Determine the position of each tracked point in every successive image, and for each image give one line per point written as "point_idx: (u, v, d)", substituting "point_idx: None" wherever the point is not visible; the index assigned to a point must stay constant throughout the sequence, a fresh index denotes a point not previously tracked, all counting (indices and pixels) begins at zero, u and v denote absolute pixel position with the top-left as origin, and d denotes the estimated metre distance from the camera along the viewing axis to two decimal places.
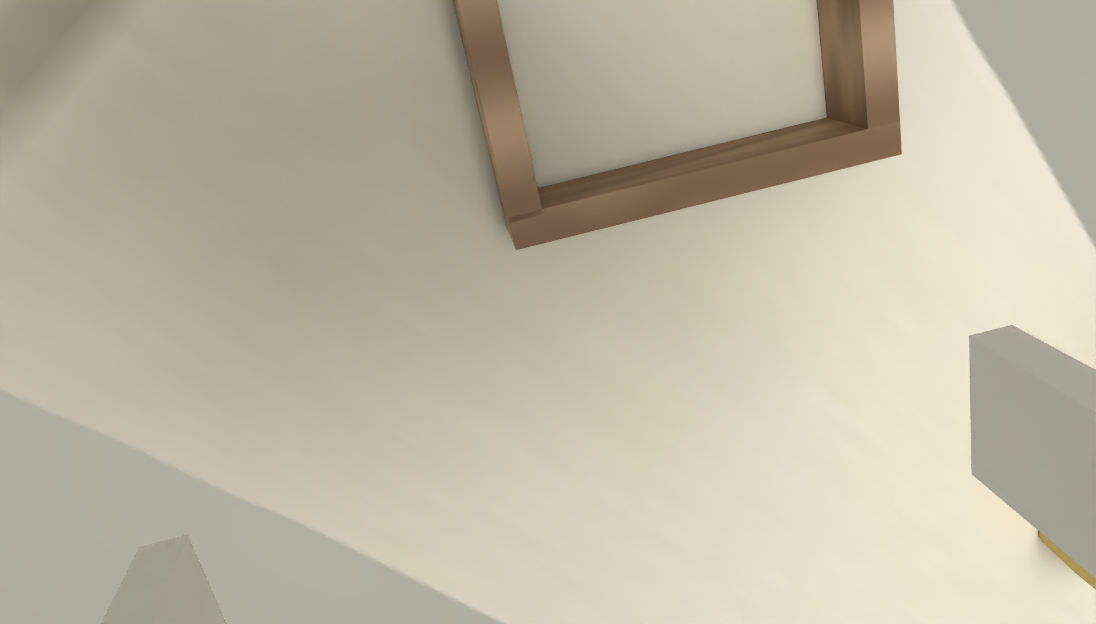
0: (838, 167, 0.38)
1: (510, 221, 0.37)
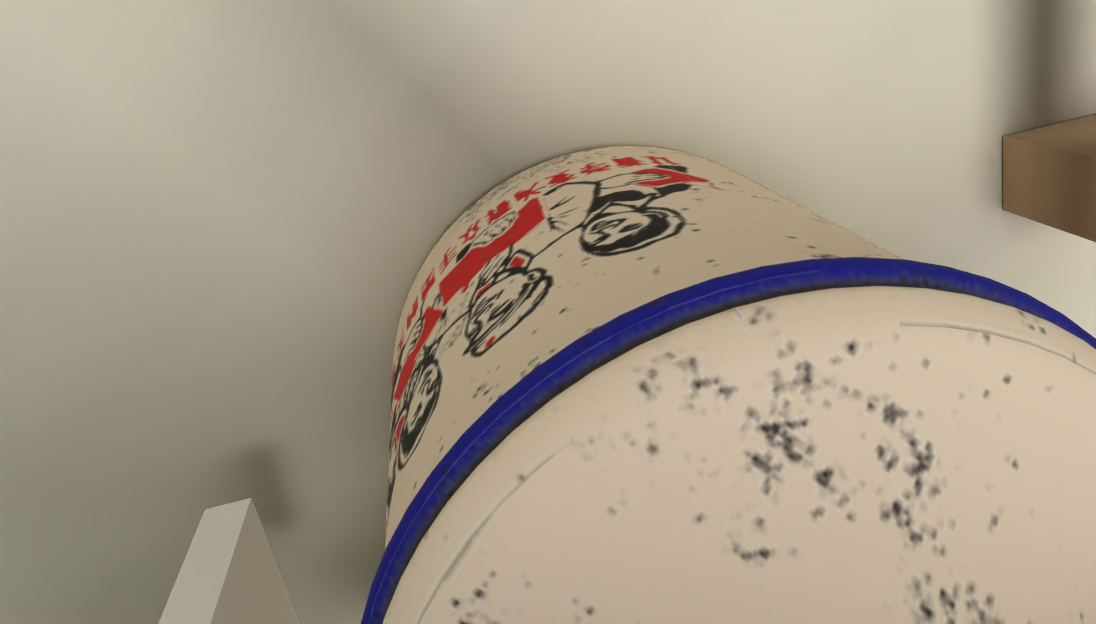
0: None
1: None
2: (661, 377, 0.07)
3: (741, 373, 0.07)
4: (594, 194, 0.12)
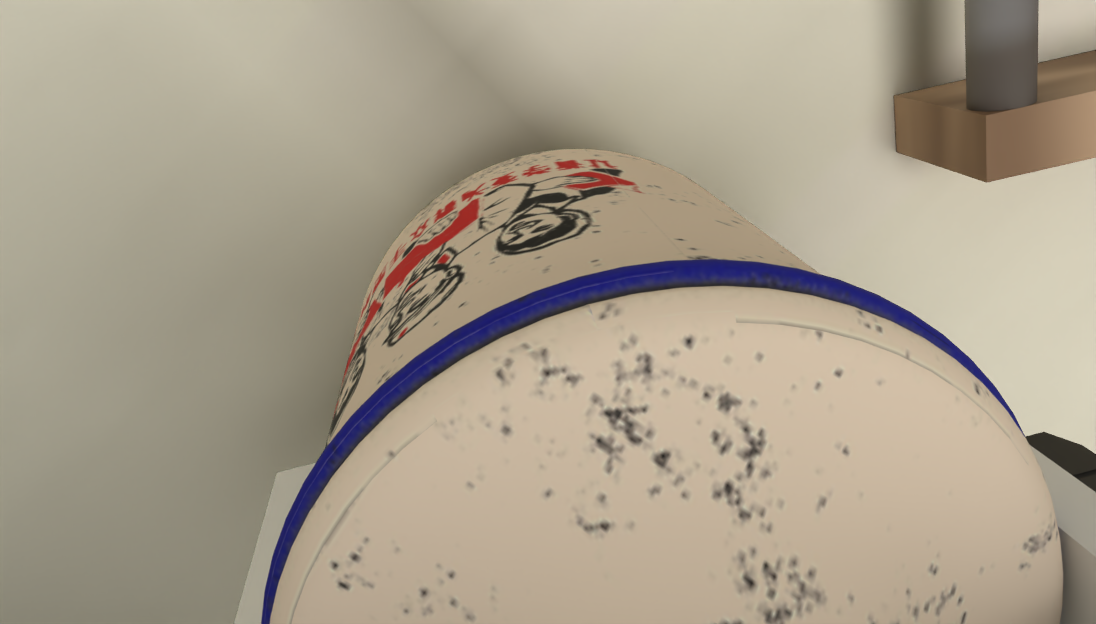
0: None
1: None
2: (515, 366, 0.08)
3: (587, 363, 0.08)
4: (525, 196, 0.13)
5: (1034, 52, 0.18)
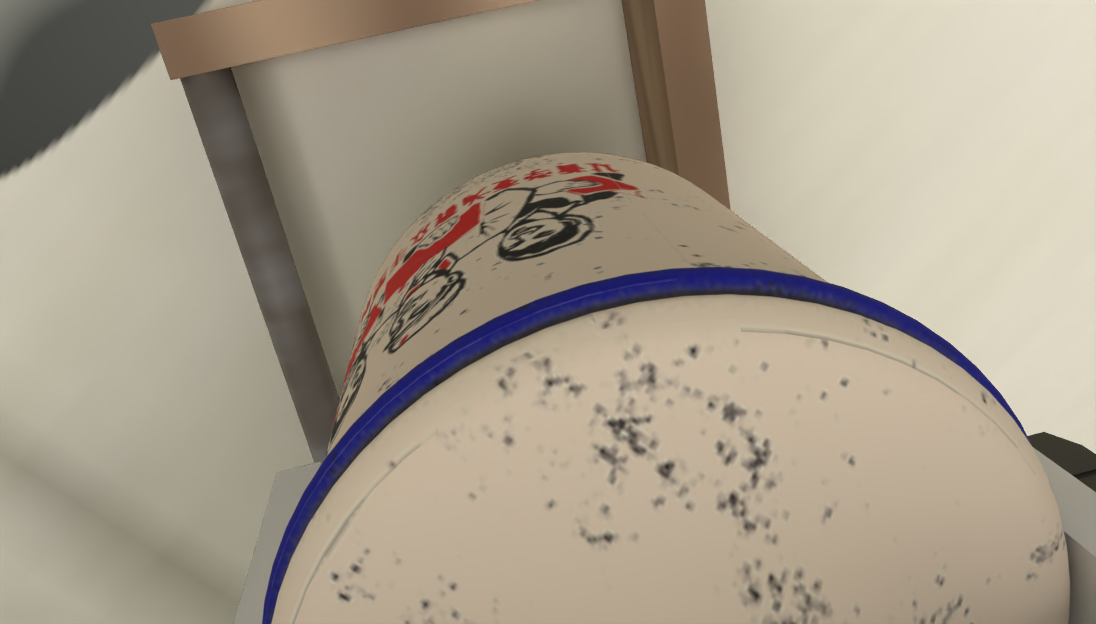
0: (703, 20, 0.25)
1: None
2: (518, 375, 0.07)
3: (590, 373, 0.07)
4: (527, 200, 0.13)
5: None
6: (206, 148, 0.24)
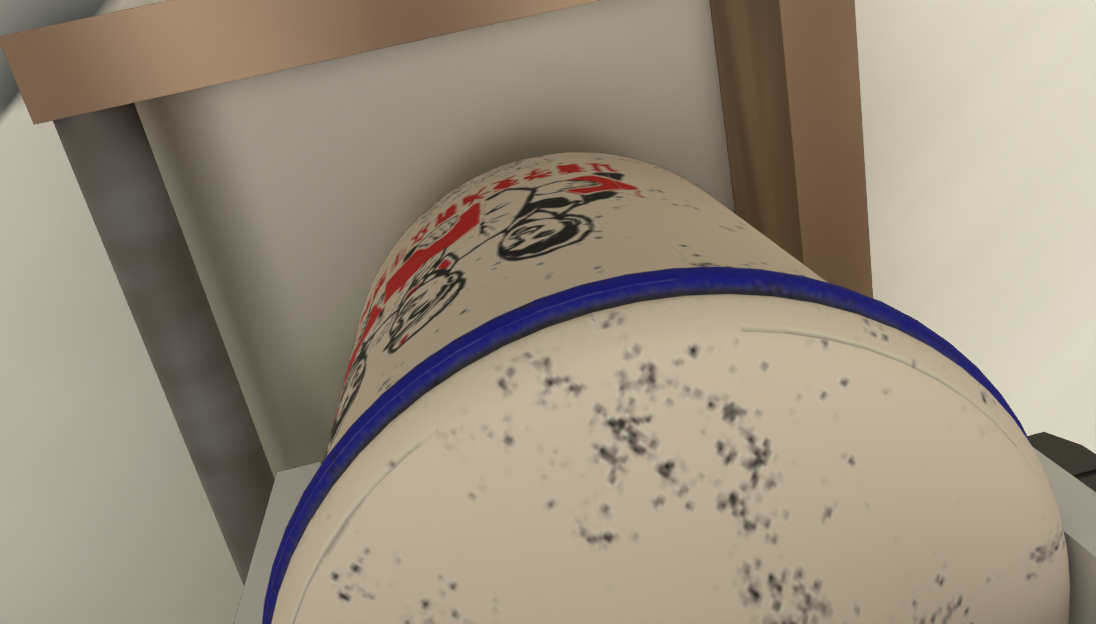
0: (850, 29, 0.17)
1: None
2: (518, 375, 0.07)
3: (590, 372, 0.07)
4: (527, 200, 0.13)
5: None
6: (97, 226, 0.16)
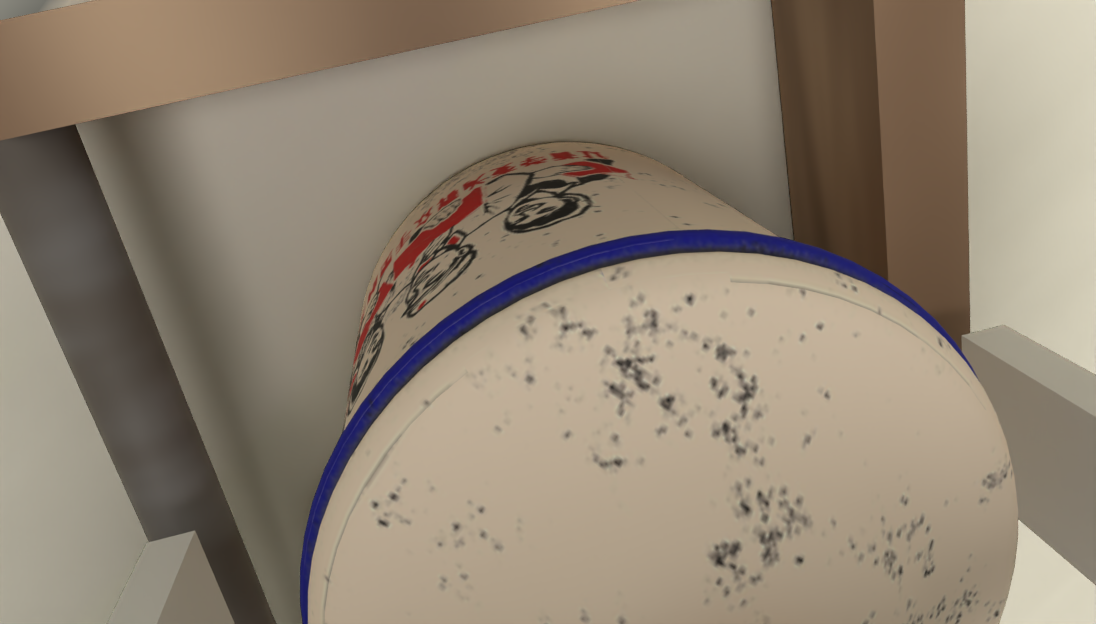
0: (958, 33, 0.13)
1: None
2: (537, 322, 0.09)
3: (600, 319, 0.09)
4: (526, 183, 0.14)
5: None
6: (29, 276, 0.13)
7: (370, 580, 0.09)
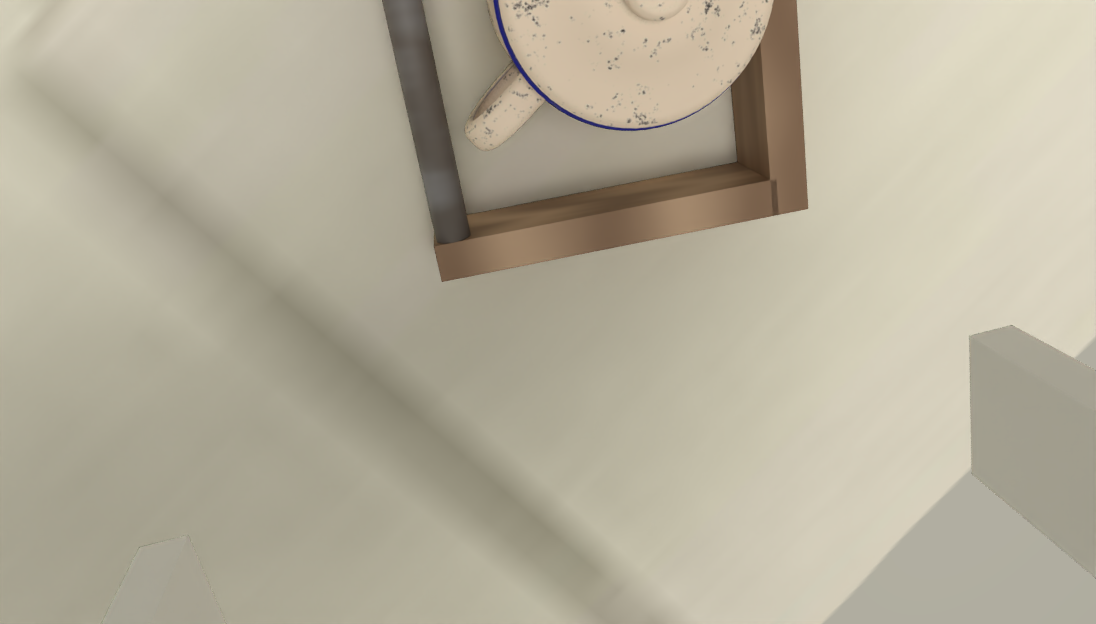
0: None
1: (777, 213, 0.35)
2: None
3: None
4: None
5: (457, 213, 0.33)
6: None
7: None
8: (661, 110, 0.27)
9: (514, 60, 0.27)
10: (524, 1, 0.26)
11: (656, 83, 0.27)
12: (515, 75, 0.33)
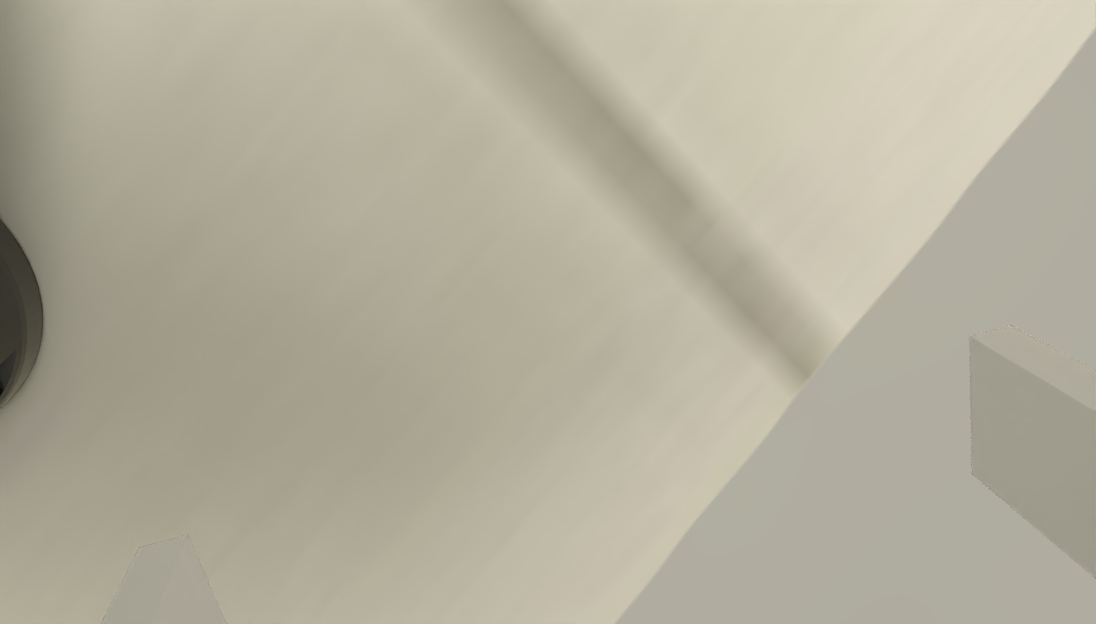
0: None
1: None
2: None
3: None
4: None
5: None
6: None
7: None
8: None
9: None
10: None
11: None
12: None
